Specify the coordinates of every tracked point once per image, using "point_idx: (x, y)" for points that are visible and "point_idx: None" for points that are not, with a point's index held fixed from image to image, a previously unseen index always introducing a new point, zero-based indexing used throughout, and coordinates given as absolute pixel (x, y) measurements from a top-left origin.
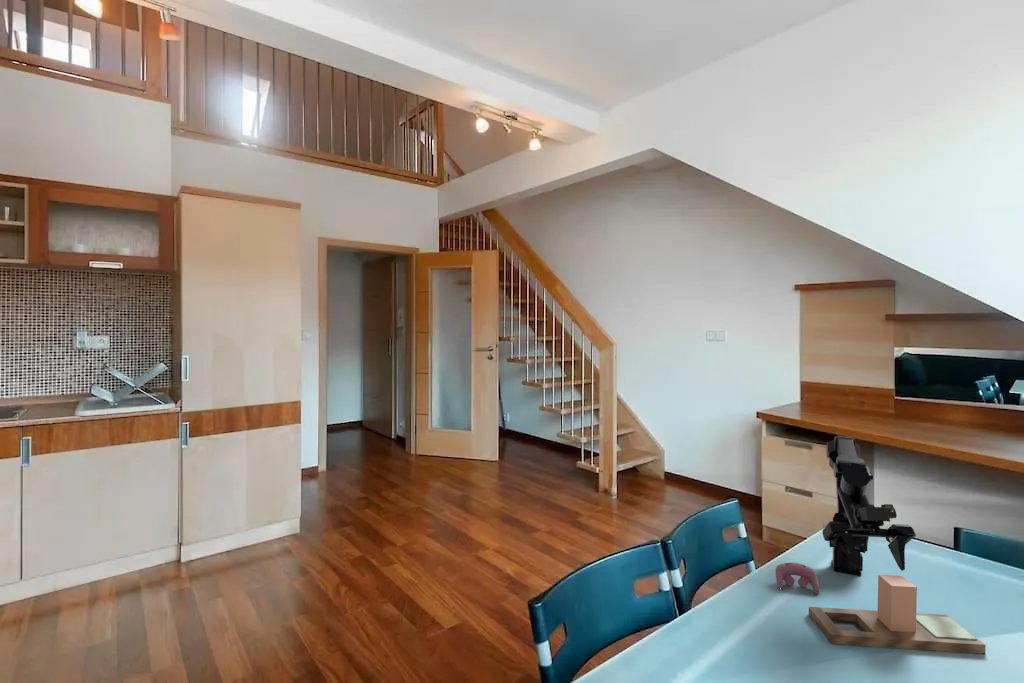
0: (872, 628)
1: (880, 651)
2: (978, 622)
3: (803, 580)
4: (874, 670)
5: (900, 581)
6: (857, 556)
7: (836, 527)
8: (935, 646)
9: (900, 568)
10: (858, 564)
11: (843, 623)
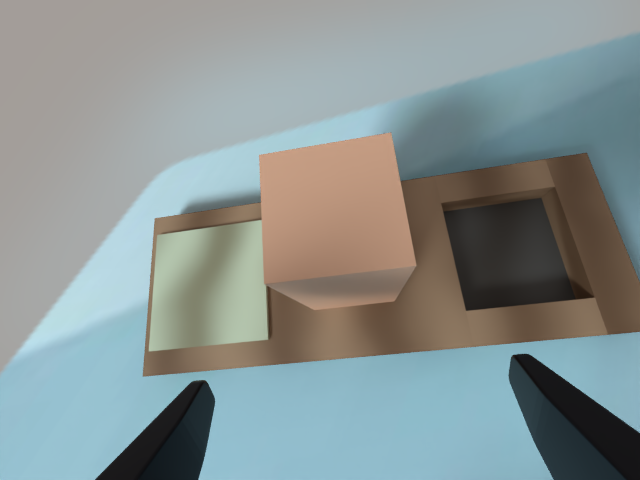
0: (438, 223)
1: (433, 170)
2: (64, 402)
3: None
4: (477, 89)
5: (314, 201)
6: (588, 420)
7: None
8: None
9: (210, 410)
10: (544, 371)
11: (508, 287)
